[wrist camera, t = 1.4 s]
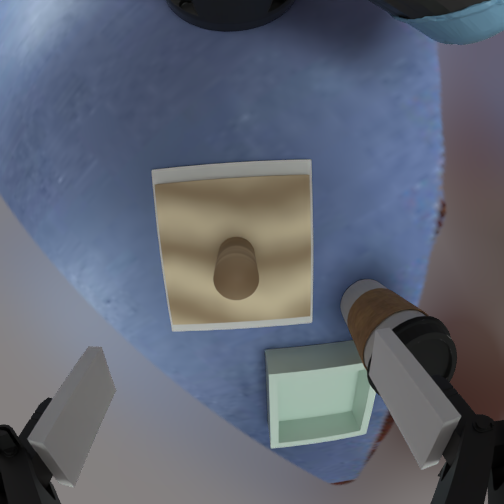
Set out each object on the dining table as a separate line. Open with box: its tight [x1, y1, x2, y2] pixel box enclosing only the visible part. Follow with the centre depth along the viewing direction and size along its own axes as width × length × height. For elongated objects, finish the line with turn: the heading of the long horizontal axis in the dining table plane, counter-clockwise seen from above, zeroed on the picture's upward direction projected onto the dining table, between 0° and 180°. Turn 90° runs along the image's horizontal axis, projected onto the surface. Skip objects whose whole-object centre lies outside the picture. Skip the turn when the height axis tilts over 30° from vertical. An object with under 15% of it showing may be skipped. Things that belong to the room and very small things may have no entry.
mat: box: [152, 159, 313, 331], centre depth 33 cm, size 18×16×1 cm
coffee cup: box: [340, 279, 457, 395], centre depth 29 cm, size 8×8×15 cm
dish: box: [265, 340, 376, 448], centre depth 37 cm, size 13×13×5 cm
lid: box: [155, 174, 311, 325], centre depth 29 cm, size 15×15×8 cm
